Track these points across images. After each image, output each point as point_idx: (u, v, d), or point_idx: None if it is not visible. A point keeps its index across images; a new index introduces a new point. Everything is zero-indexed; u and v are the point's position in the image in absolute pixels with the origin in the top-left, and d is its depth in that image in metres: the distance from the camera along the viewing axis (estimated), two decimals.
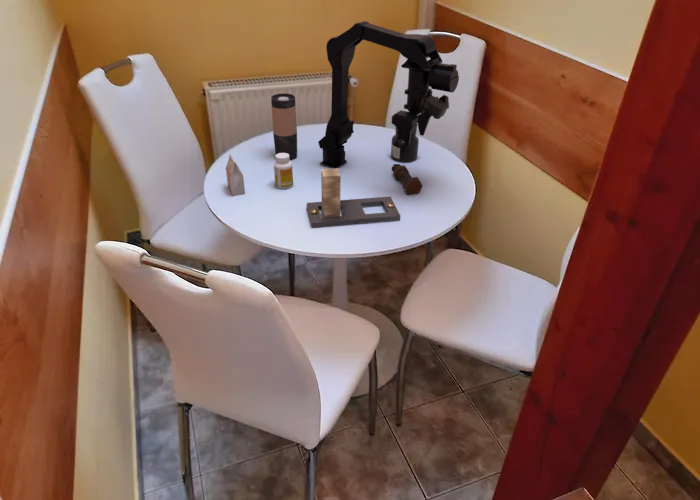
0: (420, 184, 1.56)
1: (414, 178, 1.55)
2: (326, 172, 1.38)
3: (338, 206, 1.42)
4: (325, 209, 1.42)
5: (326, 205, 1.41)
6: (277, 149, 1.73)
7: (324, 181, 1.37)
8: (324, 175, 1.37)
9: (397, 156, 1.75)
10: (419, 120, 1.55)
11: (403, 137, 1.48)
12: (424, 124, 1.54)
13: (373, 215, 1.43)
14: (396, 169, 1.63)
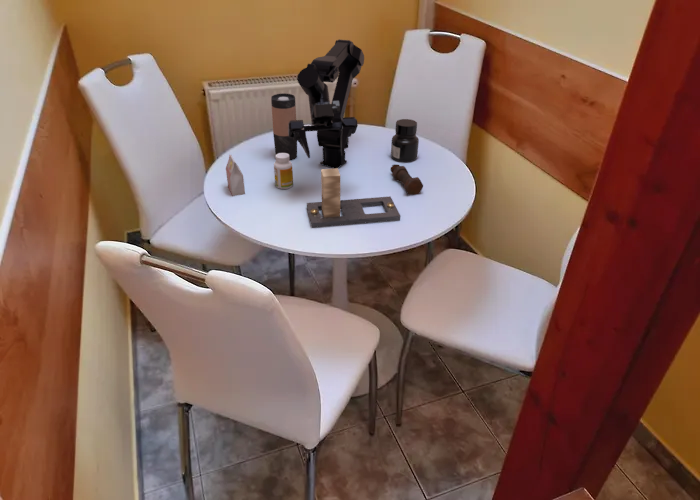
0: (421, 184, 1.56)
1: (415, 178, 1.55)
2: (326, 172, 1.38)
3: (338, 206, 1.42)
4: (325, 209, 1.42)
5: (326, 205, 1.41)
6: (277, 149, 1.73)
7: (324, 181, 1.37)
8: (324, 175, 1.37)
9: (397, 156, 1.75)
10: None
11: (304, 149, 1.46)
12: (341, 143, 1.46)
13: (373, 215, 1.43)
14: (396, 170, 1.62)
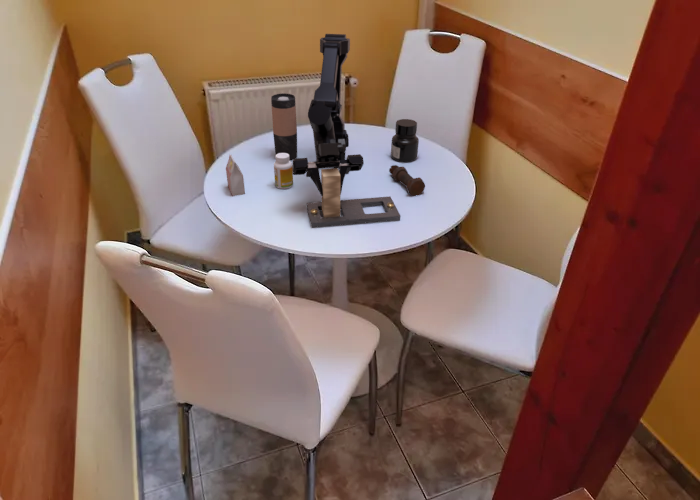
0: (423, 184, 1.55)
1: (417, 179, 1.54)
2: (326, 172, 1.38)
3: (338, 206, 1.42)
4: (325, 209, 1.42)
5: (326, 205, 1.41)
6: (277, 149, 1.73)
7: (324, 181, 1.37)
8: (324, 175, 1.37)
9: (397, 156, 1.75)
10: None
11: (317, 187, 1.43)
12: None
13: (373, 215, 1.43)
14: (395, 170, 1.62)
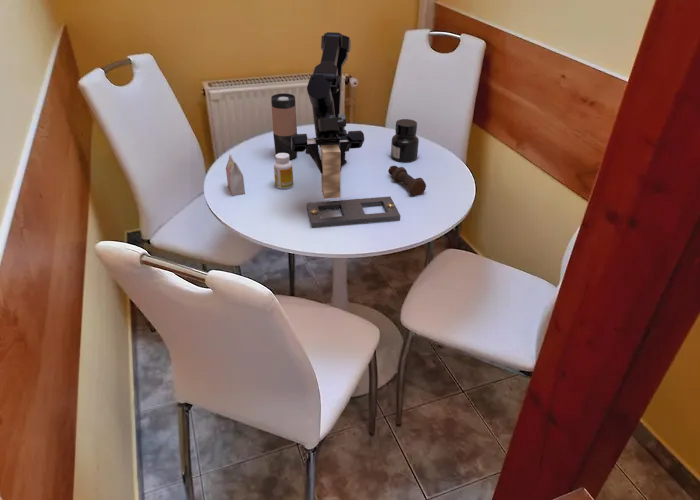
0: (424, 184, 1.55)
1: (418, 179, 1.54)
2: (326, 148, 1.35)
3: (338, 184, 1.39)
4: (325, 187, 1.38)
5: (326, 182, 1.38)
6: (277, 149, 1.73)
7: (324, 157, 1.34)
8: (324, 151, 1.33)
9: (397, 156, 1.75)
10: None
11: (316, 164, 1.39)
12: None
13: (373, 215, 1.43)
14: (395, 171, 1.61)
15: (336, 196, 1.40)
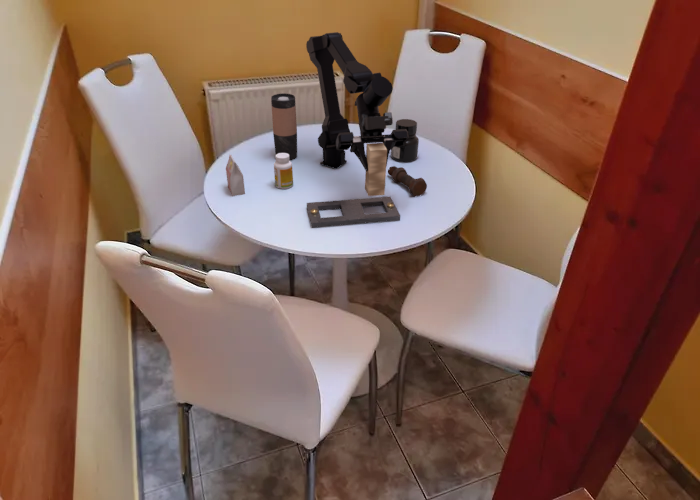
0: (425, 184, 1.55)
1: (419, 179, 1.54)
2: (372, 147, 1.37)
3: (383, 181, 1.41)
4: (370, 184, 1.40)
5: (371, 180, 1.40)
6: (277, 149, 1.73)
7: (370, 155, 1.36)
8: (371, 149, 1.36)
9: (397, 156, 1.75)
10: None
11: (361, 162, 1.41)
12: None
13: (373, 215, 1.43)
14: (395, 172, 1.61)
15: (380, 194, 1.43)
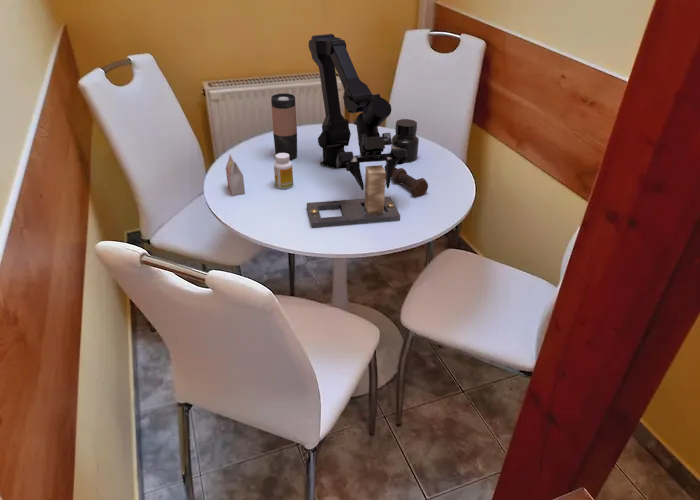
0: (426, 185, 1.55)
1: (421, 179, 1.54)
2: (371, 169, 1.40)
3: (382, 202, 1.44)
4: (369, 205, 1.44)
5: (370, 201, 1.43)
6: (277, 149, 1.73)
7: (370, 178, 1.39)
8: (370, 172, 1.39)
9: None
10: None
11: (357, 181, 1.44)
12: (387, 175, 1.44)
13: (373, 215, 1.43)
14: (395, 172, 1.61)
15: None
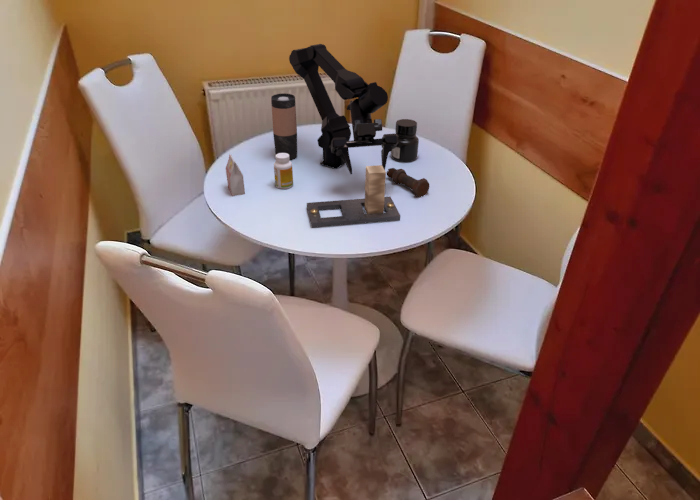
0: (428, 185, 1.55)
1: (422, 180, 1.54)
2: (371, 169, 1.40)
3: (382, 202, 1.44)
4: (369, 205, 1.44)
5: (370, 201, 1.43)
6: (277, 149, 1.73)
7: (370, 178, 1.39)
8: (370, 172, 1.39)
9: (397, 156, 1.75)
10: None
11: (346, 165, 1.51)
12: (382, 159, 1.51)
13: (373, 215, 1.43)
14: (395, 173, 1.60)
15: None
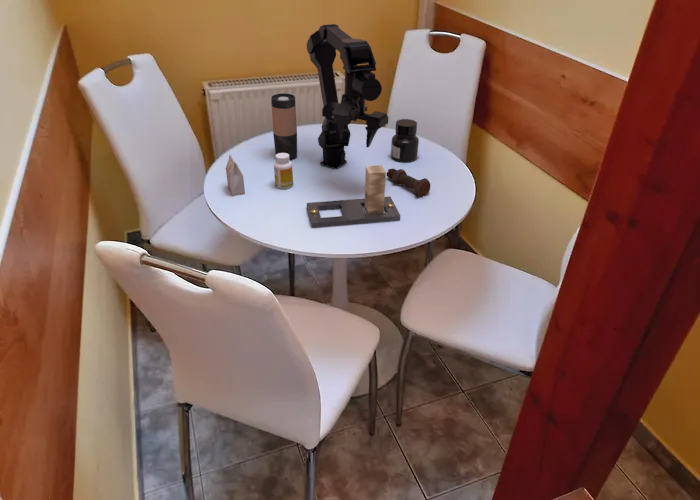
0: (429, 185, 1.55)
1: (424, 180, 1.54)
2: (371, 169, 1.40)
3: (382, 202, 1.44)
4: (369, 205, 1.44)
5: (370, 201, 1.43)
6: (277, 149, 1.73)
7: (370, 178, 1.39)
8: (370, 172, 1.39)
9: (397, 156, 1.75)
10: None
11: None
12: None
13: (373, 215, 1.43)
14: (396, 174, 1.60)
15: None
